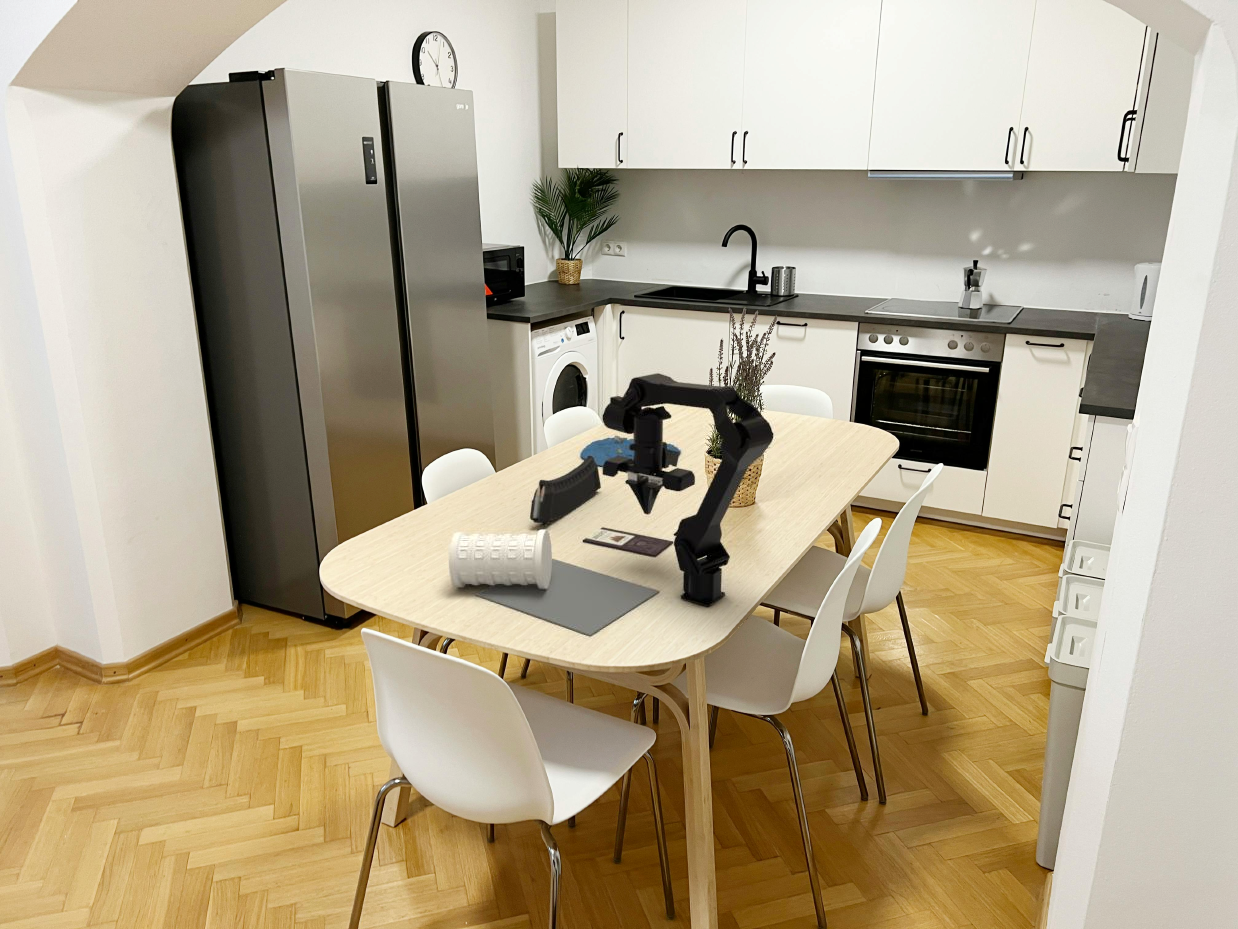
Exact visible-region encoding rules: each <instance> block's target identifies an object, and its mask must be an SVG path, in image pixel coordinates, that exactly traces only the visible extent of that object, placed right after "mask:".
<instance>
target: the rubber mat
mask: <svg viewBox="0 0 1238 929" xmlns="http://www.w3.org/2000/svg"><path fill="white" fill-rule="evenodd" d="M658 594H660V590H657V589H653V588H650V587H649V586H648V587H647V586H644V585H642V584H639V583H638V584H637V583H635V582H631V581H628V580H625V579H620V578H618V577H615V576H611V575H608V574H606V573H601V572H597V571H594V570H591V569H588V568H585V567H581V566H578V565H575V564H572V563H568V562H565V561H562V560H558V559H555V558H552V569H551V579H550V583H549V586H548V588H547V589H539V587H538V585H537V584H529V585H521V584H513V585H505V584H497V585H491V586H490V587H489V588H487V589H485V590H482V591H480V592H479V593H478V592H477V593H476V594H475V596H476V597H478V598H481V599H483V600H487V601H490V602H492V603H495V604H498V605H501V606H502V607H506V608H509V609H512V610H515V611H517V612H520V613H523V614H526V615H527V616H528V615H529V616H531V617H535V618H538V619H541V620H543V621H546V622H548V623H551V624H553V625H557V626H560V627H562V628H566V629H568V630H571V631H573V632H577V633H578V634H579V633H580V634H582V635H586V636H587V637H592V636H593V635H595V634H596V633H598V632H600V631H602V630H603V629H604V628H606V627H608V626H609V625H611V624H612V623H614V622H616V621H617V620H619V619H620V618H622V617H623V616H625V615H627V614H628V613H629V612H631V611H633V610H634V609H636V608H637V607H639V606H641V605H642V604H644V603H645V602H648V600H650V599H652V598H653V597H655V596H656V595H658Z"/></svg>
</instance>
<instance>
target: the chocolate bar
mask: <svg viewBox="0 0 1238 929" xmlns="http://www.w3.org/2000/svg"><path fill="white" fill-rule="evenodd" d="M582 543H585V544H588V545H592V546H593V545H594V546H597V547H603V548H608V549H611V550H617V551H622V552H628V553H630V554H631V553H633V554H637V555H641V556H646V557H649V558H657V557H658V556H659V555H661V554H662V553H663V552H664V551H666V550H667V549H669V547H671V546H672V545H674V540H668V539H664V538H663V539H662V538H658V537H653V536H650V535H649V536H648V535H643V534H639V533H635V532H629V531H623V530H619V529H613V528H608V527H603V526H602V527H600V528H599V529H598V530H596V531H594V532H593V533H592V534H590V535H588V536H587V537H585V538H584V539H582Z"/></svg>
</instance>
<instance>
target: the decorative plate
mask: <svg viewBox="0 0 1238 929" xmlns="http://www.w3.org/2000/svg"><path fill="white" fill-rule="evenodd" d="M631 444H633V438H629V439H628V437H621V436H620V435H615V436H614V437H606V438H604V439H598V440H594V441H592V442H590V443H589V444H587V445H586V446H585V447H584V448H583V449H582V450H581V451H580V457H581V459H583V460H585V459H586V458H587V457H588V456H592V457H594V461H595V462H596V464H597V466H603V464H604V462H605V461H606V460H609V459H611V458H614V457H616V456H623V457H627V458H632V459H633V450H630V445H631ZM666 444H667V449H669V450H673V451H678V452H680V453H679V455H680V454H681V452H682V450H681V449H680V448H678V447H677V446H675V445H674V444H671V443H667V442H666Z"/></svg>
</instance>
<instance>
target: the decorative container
mask: <svg viewBox="0 0 1238 929" xmlns="http://www.w3.org/2000/svg"><path fill="white" fill-rule="evenodd" d="M449 546H450V547H449V552H448V565H449V566H448V567H449V568H448V569H449V576H450V580H451V583H452V586H453V587H455V588H464V587H466V585H470V584H471V585H473V586H480V585H485V584H486V585H489V586H494V585H497V584H505V585H513V584H521V585H529V584H537V585H538V587H539V589H547V588H548V586H549V583H550V579H551V569H552V559H553V551H552V540H551V536H550V532H549V530H548V529H539V530H538V532H537V534H529V533H526V532H525V533H521V534H514V533H505V534H504V535H503V534H501V535H498V534H497V533H489V534H486V535H484V534H481V533H473V534H472V535H467V533H466V532H465V531H459V532H458V531H457V532H455V533H454V534H453V535H452V538H451V540H450V545H449Z"/></svg>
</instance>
